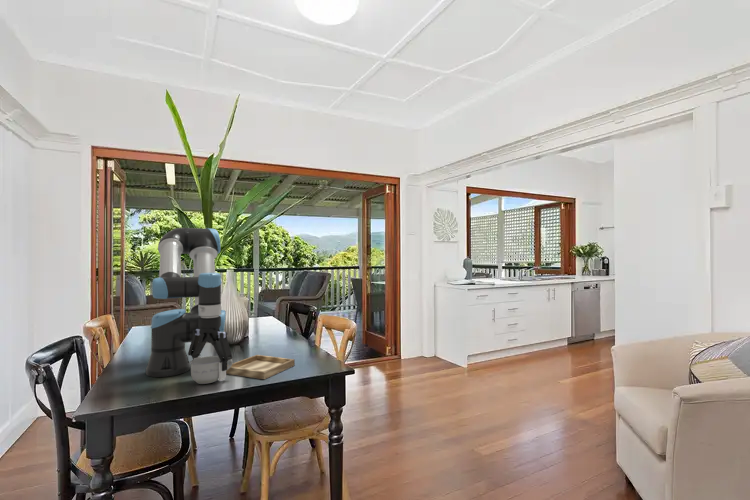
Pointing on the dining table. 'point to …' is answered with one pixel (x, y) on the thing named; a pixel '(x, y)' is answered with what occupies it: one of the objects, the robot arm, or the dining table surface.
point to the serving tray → (260, 366)
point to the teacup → (206, 369)
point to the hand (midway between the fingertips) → (209, 377)
